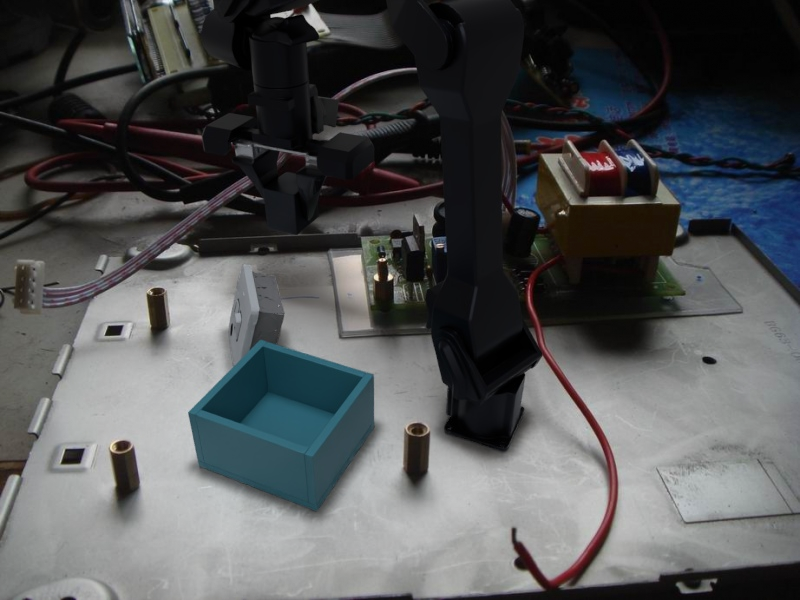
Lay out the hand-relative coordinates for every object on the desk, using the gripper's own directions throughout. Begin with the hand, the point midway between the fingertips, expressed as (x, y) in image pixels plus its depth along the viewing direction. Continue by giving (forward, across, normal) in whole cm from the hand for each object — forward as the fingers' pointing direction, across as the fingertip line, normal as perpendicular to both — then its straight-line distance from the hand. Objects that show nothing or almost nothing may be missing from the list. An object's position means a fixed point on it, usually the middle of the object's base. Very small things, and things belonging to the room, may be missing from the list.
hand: (292, 214), depth 86 cm
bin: (+12, -12, +22) cm, 28 cm away
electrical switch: (+12, -1, +11) cm, 16 cm away
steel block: (+1, 0, 0) cm, 1 cm away
